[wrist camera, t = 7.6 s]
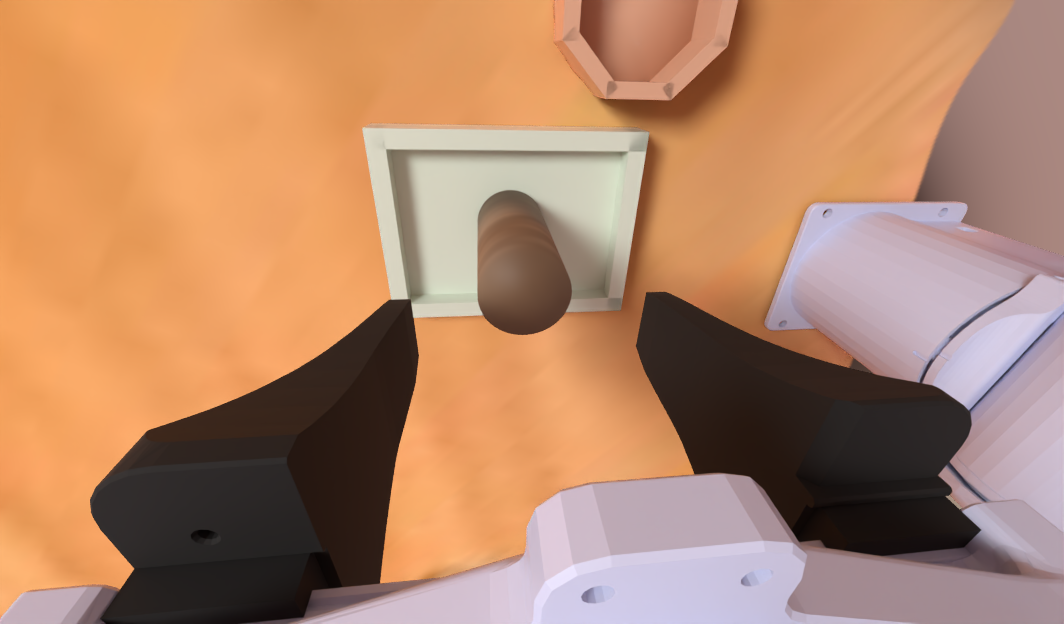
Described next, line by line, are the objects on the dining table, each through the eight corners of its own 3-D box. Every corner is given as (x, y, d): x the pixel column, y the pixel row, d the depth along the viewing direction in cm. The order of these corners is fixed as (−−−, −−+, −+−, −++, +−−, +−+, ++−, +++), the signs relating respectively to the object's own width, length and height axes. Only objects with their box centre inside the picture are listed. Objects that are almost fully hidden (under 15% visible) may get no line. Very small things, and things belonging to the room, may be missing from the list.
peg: (546, 192, 20) (578, 253, 13) (538, 254, 21) (564, 335, 15) (478, 187, 19) (479, 248, 13) (476, 251, 21) (475, 333, 14)
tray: (637, 127, 19) (649, 132, 18) (612, 296, 24) (620, 310, 22) (371, 123, 18) (362, 127, 16) (399, 303, 22) (394, 318, 21)
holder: (726, -95, 15) (766, -121, 13) (688, 97, 19) (715, 101, 17) (557, -109, 15) (571, -138, 13) (549, 94, 18) (558, 98, 16)
